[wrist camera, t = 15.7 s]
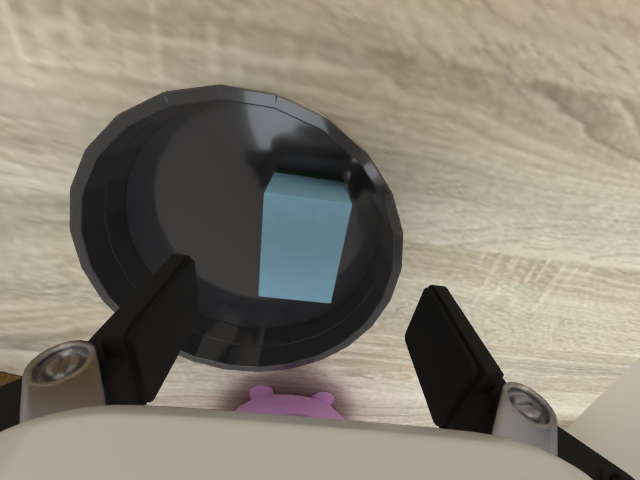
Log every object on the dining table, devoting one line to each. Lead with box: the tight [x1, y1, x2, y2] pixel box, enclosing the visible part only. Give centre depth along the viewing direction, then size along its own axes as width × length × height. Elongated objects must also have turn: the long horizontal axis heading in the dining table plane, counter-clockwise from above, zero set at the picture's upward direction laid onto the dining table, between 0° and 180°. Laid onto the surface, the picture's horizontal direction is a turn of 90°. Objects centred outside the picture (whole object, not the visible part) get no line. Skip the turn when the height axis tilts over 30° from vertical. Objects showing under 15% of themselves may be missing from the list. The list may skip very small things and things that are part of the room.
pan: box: [70, 85, 403, 372], centre depth 18 cm, size 19×19×4 cm
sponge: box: [258, 169, 352, 303], centre depth 17 cm, size 6×4×5 cm
